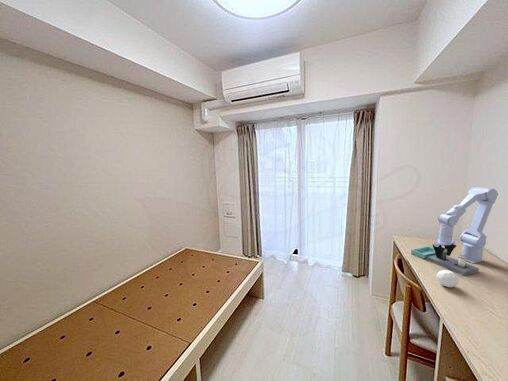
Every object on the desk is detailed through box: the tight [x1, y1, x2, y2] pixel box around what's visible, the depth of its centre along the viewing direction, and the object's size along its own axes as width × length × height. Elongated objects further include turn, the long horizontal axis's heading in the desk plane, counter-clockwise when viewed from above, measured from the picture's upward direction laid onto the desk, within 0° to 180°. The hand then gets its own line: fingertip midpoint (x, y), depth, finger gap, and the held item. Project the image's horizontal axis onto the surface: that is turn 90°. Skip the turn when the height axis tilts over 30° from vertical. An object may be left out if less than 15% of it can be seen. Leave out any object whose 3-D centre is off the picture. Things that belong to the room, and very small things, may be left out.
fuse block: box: [426, 255, 479, 276], centre depth 122 cm, size 12×18×2 cm, turn 17°
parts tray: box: [410, 245, 436, 260], centre depth 135 cm, size 15×8×3 cm, turn 107°
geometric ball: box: [436, 269, 459, 288], centre depth 103 cm, size 8×8×8 cm
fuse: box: [457, 254, 467, 269], centre depth 117 cm, size 3×3×8 cm
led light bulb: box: [439, 249, 447, 261], centre depth 126 cm, size 3×3×8 cm
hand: (442, 256), depth 126 cm, fingers open, 7 cm apart
